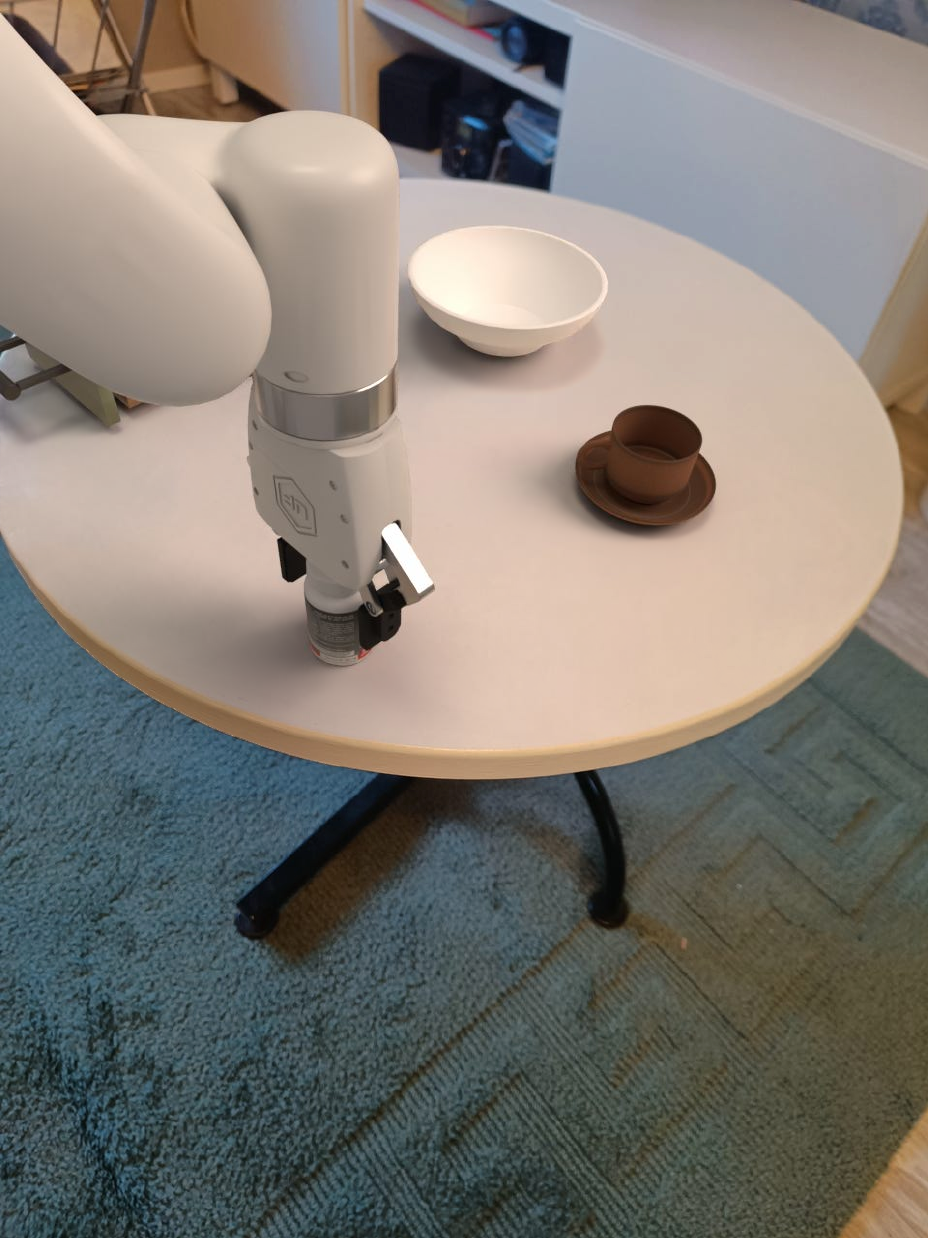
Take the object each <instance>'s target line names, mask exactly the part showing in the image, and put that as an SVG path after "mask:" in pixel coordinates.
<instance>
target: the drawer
mask: <svg viewBox="0 0 928 1238" xmlns="http://www.w3.org/2000/svg"><path fill="white" fill-rule="evenodd" d="M22 345H25V348H26V350H27V353H28V356H29V358H30V359H31V360H32V361H33V362H34V363H35V364H36V365H38V366H39V367H40V368H42V371H38V372H37V373H34V374H31V375H29V376H27V377H24V378H22V379H19V380H16V381H13V380H12V379H11V378H10V377H9V376H8V375H6V374H5V372H3V371H2V370H1V369H0V395H1V396H2V397H3V398H4V399H5V400H7V401H12V402H13V401H16V400H17V399H19V397H20V396H21V394H22V393H21V392H23V391H25V390H27V389H30V388H32V387H35V386H37V385H40V384H42V383H44V382H47V381H49V380H55V381H56V382H57V383H58V384H59V385H60V386H61V387H62V388H64V389H65V390H66V391H67V392H68V393H69V394H71V395H72V396H73V397H74V398H75V399H76V400H78V402H80V403H81V404H82V405H83V406H84V407H86V408H87V409H88V411H90V412H91V413H92V414H94V415H95V417H97V418H98V419H99V420H101V422H103V423H104V424H105V425H106V426H107V427H111V426H113V425H116V424H118V423H120V422H121V420H122V419H121V417H120V413H119V409H118V406H117V402H116V400H115V398H116V399H118V400H119V401H120V403H122V404H123V405H125V406H126V407H127V408H128V409H131V408H134V407H136V406H139V405H140V404H143V403H144V402H141V401H137V400H134V399H131V398H129V397H126V396H123V395H120V394H118V393H115V392H113V391H110V390H108V389H106V388H104V387H102V386H100V385H98V384H96V383H94V382H92V381H91V380H89V379H87V378H85V377H83V376H82V375H80V374H78V373H76V372H75V371H73V370H72V369H70V368H68V367H67V366H65V365H63V364H62V363H60V362H58V361H57V360H55V359H54V358H52V357H50V356H49V355H47V354H46V353H44V352H42V351H41V350H39V349H38V348H36V347H34V346H33V345H31V344H30V343H28V342H26V341H25V340H23V339H21V338H20V337H18V336H17V335H14V336H13V337H9V338H6V339H4V340H1V341H0V354H1V353H3V352H6V351H9V350H11V349H15V348H17V347H20V346H22Z"/></svg>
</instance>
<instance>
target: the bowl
mask: <svg viewBox="0 0 928 1238" xmlns="http://www.w3.org/2000/svg"><path fill="white" fill-rule="evenodd" d="M407 278H408V282H409V285H410V288H411V291H412V292H413V295H414V297H415V300H416V302H417V303H418V305H420V307H421V308H422V309H423V310H424V312H425V313H426V315H427V316H428V317H429V318H430V319H431V320H432V321H433V322H435V323H436V325H438V326H439V327H440V328H442V329H444V330H446V331H448V332H449V333H451V334H453V335H454V336H457V338H458V339H459V340H460V341H461V342H462V343H463V344H465V345H466V346H468V347H469V348H471V349H473V350H474V351H477V352H479V353H482V354H486V355H490V356H496V357H510V358H511V357H522V356H525V355H529V354H531V353H534V352H537V351H538V350H539V349H541V348H543V347H544V346H545V345H549V344H554V343H557V342H559V341H562V340H565V339H567V338H569V337H571V336H573V335H575V334H576V333H577V332H579V331H580V330H581V329H582V328H583V327H585V326H586V325H587V324H588V323H589V322H590V321H591V320H592V319H593V318H594V317H595V316H596V315H597V313H598V312H599V310H600V309H601V307H602V305H603V303H604V301H605V299H606V297H607V294H608V289H609V280H608V277H607V274H606V271H605V270H604V268H603V267H602V266H601V264H600V263H599V261H598V260H596V259H595V257H593V256H592V255H591V254H590V253H589V252H587V251H586V250H584V249H583V248H581V247H580V246H578V245H576V244H574V243H573V242H570V241H568V240H566V239H564V238H562V237H560V236H557V235H553V234H550V233H547V232H544V231H540V230H536V229H531V228H526V227H519V226H512V225H495V224H494V225H493V224H492V225H491V224H490V225H489V224H488V225H474V226H467V227H461V228H455V229H452V230H448V231H445V232H442V233H439V234H437V235H435V236H432V237H430V238H429V239H427V240H426V241H424V242H423V243H421V244H420V245H419V246H417V247H416V249H415V250H414V251H413V252H412V253H411V255H410V257H409V259H408V263H407Z"/></svg>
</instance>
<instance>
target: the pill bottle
mask: <svg viewBox="0 0 928 1238" xmlns="http://www.w3.org/2000/svg"><path fill="white" fill-rule="evenodd" d="M372 580H373V583H374V585H375V586H376V582H375V578H374V577H373V579H372ZM303 597H304V605H305V613H306V622H307V632H308V640H309V644H310V645H309V646H310V648H311V650H312V653H313V654H314V655H315V656H316V657H317V658H318V659H319V660H321V661H323V662H324V663H327V664H331V665H333V666H344V667H345V666H346V667H347V666H352V665H355V664H358V663H360V662H362V661H363V660H365V659H366V658H367V657H369V655H370V654H371V653H372V652H373V650H374V648H375V646H374V647H373V648H371V649H370V650H368V651H366V650H364V649H363V648H362V647H361V646H360V642H359V624H358V608H359V607H360V605H362V604H363V603H364V602H363V600H362V597H361V595H360V593H359V590H352V589H349V588H346V587H343V586H342V585H340V584H338V583H336V582H335V581H334V580H332V579H331V578H330V577H329V576H327V575H326V574H325V573H324V572H322V571H321V570H320V569H319V568H318V567H316V566H315V565H314V564H313V563H311V562H310V561H309V560H308V559H306V574H305V578H304V581H303Z"/></svg>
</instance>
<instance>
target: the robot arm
mask: <svg viewBox="0 0 928 1238" xmlns="http://www.w3.org/2000/svg"><path fill="white" fill-rule="evenodd" d="M397 160H398V159H397V157H396V155H395V152H394V149H393V148H392V145H391V144H390V143H389V141H388V140H387V138H386V137H385V136H384V135H383V134H382V133H381V132H380V131H378V130H377V129H376V128H375V127H374V126H372V125H371V124H369V123H367V122H365V121H363V120H361V119H359V118H355V117H353V116H350V115H345V114H342V113H337V112H333V111H324V110H315V109H314V110H313V109H312V110H311V109H310V110H308V109H303V110H301V109H300V110H299V109H298V110H289V111H281V112H280V111H279V112H276V113H270V114H267V115H263V116H260V117H258V118H255V119H253V120H251V121H247V122H244V121H220V120H206V119H190V118H179V117H169V116H162V115H161V116H160V115H148V114H137V113H136V114H135V113H111V114H99V115H96V114H95V113H94V112H93V111H92V110H91V109H90V108H89V107H88V106H87V105H86V104H85V103H84V102H83V101H82V100H81V99H80V98H79V97H78V96H77V95H76V94H75V93H74V92H73V91H72V89H70V87H69V86H68V85H66V84H65V83H64V81H62V79H61V78H60V77H59V76H58V75H57V74H56V73H55V72H54V71H53V70H52V69H51V67H50V66H48V64H46V62H45V61H44V60H43V59H42V58H41V57H40V56H39V55H38V53H36V51H35V50H34V49H33V48H32V47H31V45H29V44H28V43H27V41H26V40H25V39H24V38H23V37H22V36H21V35H20V33H18V31H17V30H16V29H15V28H14V26H13V25H11V23H10V22H9V21H8V19H6V17H5V16H4V15H3V14H2V12H0V326H1V327H3V328H5V330H7V331H9V332H11V333H12V334H14V336H18V337H20V338H21V339H23V340H25V341H26V342H28V343H30V344H31V345H33V346H34V347H36V348H38V349H39V350H41V351H42V352H44V353H46V354H47V355H49V356H50V357H52V358H54V359H55V360H57V361H58V362H60V363H62V364H63V365H65V366H67V367H68V368H70V369H72V370H73V371H75V372H76V373H78V374H80V375H82V376H83V377H85V378H87V379H89V380H91V381H92V382H94V383H96V384H98V385H100V386H102V387H104V388H106V389H108V390H110V391H113V392H115V393H118V394H120V395H123V396H126V397H129V398H131V399H134V400H137V401H141V402H143V403H145V404H150V405H156V406H160V407H175V408H176V407H177V408H181V407H182V408H183V407H191V406H198V405H203V404H205V403H209V402H212V401H216V400H218V399H221V398H222V397H225V396H226V395H229V394H230V393H232V392H233V391H235V390H236V389H237V388H239V387H240V386H241V385H242V384H243V383H244V382H246V381H247V380H248V379H249V378H250V377H251V380H252V384H251V387H250V392H249V399H248V410H247V442H248V444H247V445H248V455H247V456H246V462H247V464H248V467H249V470H250V478H251V479H250V480H251V487H252V488H251V489H252V495H253V500H254V506H255V509H256V512H257V513H258V515H259V517H260V518H261V519H262V521H264V523H266V525H267V526H268V527H269V528H271V529H270V530H272V532H273V533H274V534H275V535H276V536H278V537H279V538H276V543H277V552H278V557H279V558H278V559H279V565H280V572H281V578H282V579H283V580H284V581H285V582H287V583H294V582H296V581H297V580H299V579H300V578H301V579H302V577H305V576H306V575H307V574H306V559H308V560H309V561H310V562H311V563H313V564H314V565H315V566H316V567H318V568H319V569H320V570H321V571H322V572H324V573H325V574H326V575H327V576H329V577H330V578H331V579H332V580H334V581H335V582H336V583H338V584H340V585H342V586H343V587H346V588H349V589H352V590H359V593H360V595H361V597H362V600H363V602H364V603H363V604H362V605H360V607H359V608H358V624H359V642H360V646H361V647H362V648H363V649H364V650H366V651H368V650H370V649H371V648H373V647H374V648H375V647H376V646H377V645H378V644H380V643H381V642H383V643H385V642H388V641H389V640H391V639H392V638H393V637H394V636H396V635H397V634H398V632H399V630H400V628H401V626H402V609H403V608H406V607H409V606H412V605H414V604H418V603H419V602H420V601H422V600H424V599H425V598H426V597H428V596H429V595H431V594H432V593H433V592H435V590H436V586H435V584H434V582H433V580H432V579H431V577H430V575H429V574H428V572H427V570H426V569H425V567H424V566H423V564H422V563H421V561H420V559H419V557H418V556H417V554H416V553H415V551H414V550H413V548H412V546H411V545H412V537H413V535H412V534H413V501H412V500H413V499H412V498H413V497H412V487H411V486H412V485H411V484H412V483H411V475H410V467H409V458H408V452H407V446H406V445H407V444H406V439H405V435H404V430H403V424H402V421H401V420H400V419H399V417H398V416H397V414H398V409H399V406H398V405H399V305H400V304H399V297H400V296H399V295H400V294H399V292H400V291H399V290H400V289H399V288H400V282H399V281H400V208H401V207H400V203H401V201H400V198H401V197H400V196H401V188H400V169H399V165H398V161H397ZM251 374H252V376H250V375H251ZM249 376H250V377H249ZM381 571H384V573H385V575H386V577H387V580H388V583H385V584H384V585H383V586H381V587H379V588H378V589H377V588H376V584H375V585H374V583H373V580H372V579H373V578H374V577H375V576H376V575H378V574H379V573H380V572H381ZM374 648H373V649H374Z"/></svg>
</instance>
